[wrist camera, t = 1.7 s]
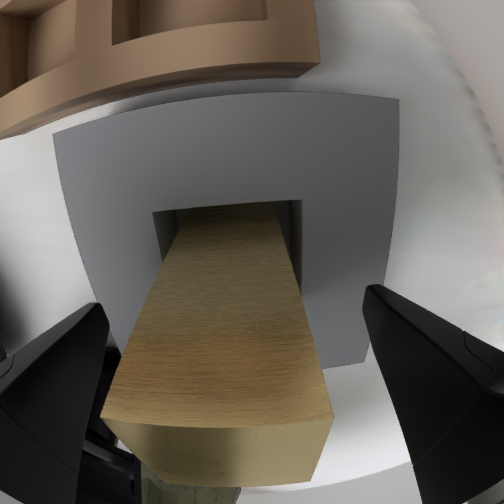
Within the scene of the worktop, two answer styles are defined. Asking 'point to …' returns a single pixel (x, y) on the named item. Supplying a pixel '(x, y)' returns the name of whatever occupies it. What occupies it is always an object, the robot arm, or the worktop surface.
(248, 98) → the socket block
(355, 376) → the worktop surface
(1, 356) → the squash
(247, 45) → the walnut rack
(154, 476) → the olive carved statue
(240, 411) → the block
